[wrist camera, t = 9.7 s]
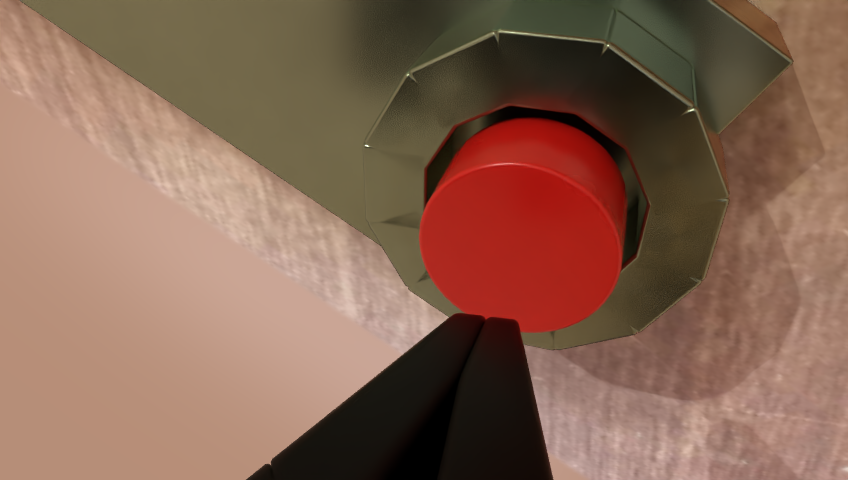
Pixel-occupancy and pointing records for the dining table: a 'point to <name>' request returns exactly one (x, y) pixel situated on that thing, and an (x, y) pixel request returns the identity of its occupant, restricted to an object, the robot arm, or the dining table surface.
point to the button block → (463, 107)
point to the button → (527, 225)
